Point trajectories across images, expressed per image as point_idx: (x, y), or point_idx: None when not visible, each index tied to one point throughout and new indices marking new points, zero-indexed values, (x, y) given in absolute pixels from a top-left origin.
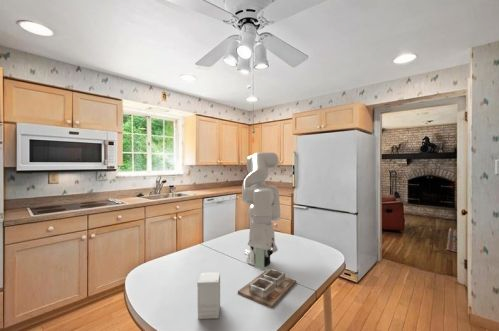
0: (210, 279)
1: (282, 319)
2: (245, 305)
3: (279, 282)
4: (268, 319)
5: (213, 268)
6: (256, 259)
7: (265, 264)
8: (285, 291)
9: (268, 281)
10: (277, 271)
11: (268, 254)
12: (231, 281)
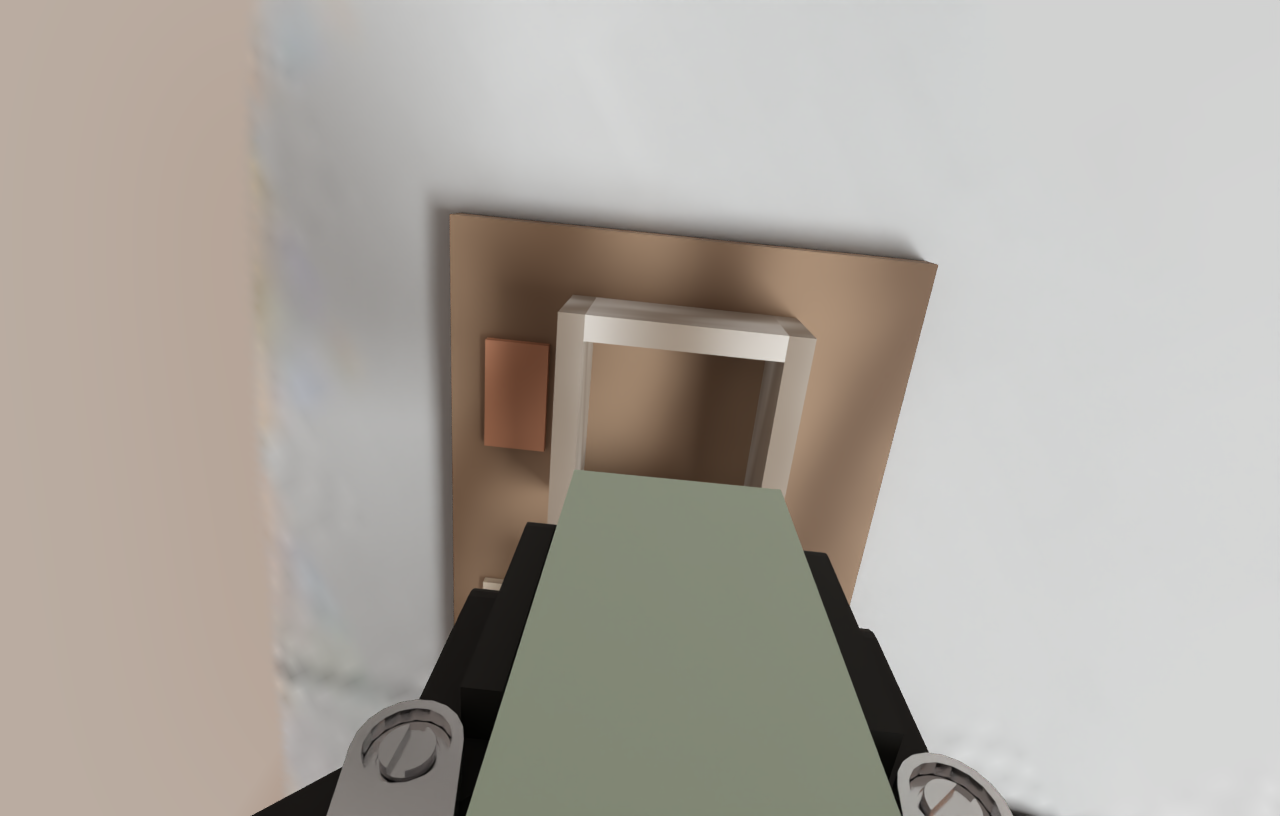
0: None
1: (276, 92)
2: (734, 98)
3: None
4: (390, 5)
5: None
6: (783, 598)
7: (518, 547)
8: (453, 516)
9: None
10: None
11: (343, 806)
12: (1107, 448)
